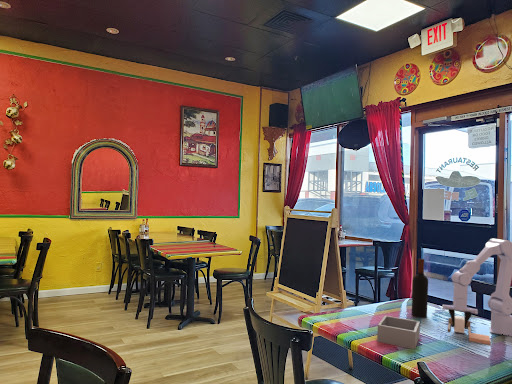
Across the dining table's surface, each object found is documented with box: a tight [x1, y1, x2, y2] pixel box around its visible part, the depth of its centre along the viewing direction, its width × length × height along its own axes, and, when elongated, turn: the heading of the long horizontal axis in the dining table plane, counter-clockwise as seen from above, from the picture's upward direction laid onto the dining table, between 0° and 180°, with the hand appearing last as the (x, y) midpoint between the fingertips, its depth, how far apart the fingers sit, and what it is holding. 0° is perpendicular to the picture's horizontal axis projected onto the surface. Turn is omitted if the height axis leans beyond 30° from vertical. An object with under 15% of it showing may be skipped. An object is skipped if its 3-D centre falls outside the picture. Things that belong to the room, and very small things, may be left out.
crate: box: [376, 315, 421, 350], centre depth 171 cm, size 15×17×7 cm
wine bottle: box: [411, 258, 429, 319], centre depth 210 cm, size 8×8×30 cm
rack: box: [447, 317, 472, 336], centre depth 190 cm, size 10×14×3 cm
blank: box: [453, 315, 465, 334], centre depth 185 cm, size 4×6×6 cm, turn 155°
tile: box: [468, 332, 491, 345], centre depth 175 cm, size 8×8×2 cm
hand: (459, 326), depth 185 cm, fingers closed on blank, 4 cm apart
